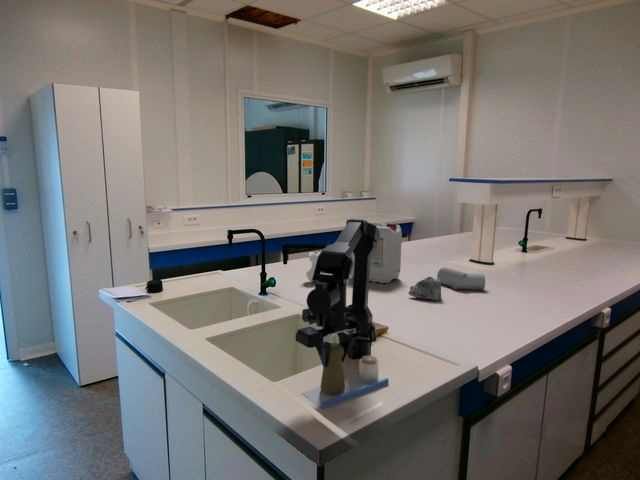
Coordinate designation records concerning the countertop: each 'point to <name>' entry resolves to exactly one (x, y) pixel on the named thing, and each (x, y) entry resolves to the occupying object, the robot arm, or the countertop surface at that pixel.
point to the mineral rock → (427, 289)
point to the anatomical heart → (313, 259)
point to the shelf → (351, 390)
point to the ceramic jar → (368, 369)
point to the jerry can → (385, 254)
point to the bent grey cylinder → (461, 279)
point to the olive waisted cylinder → (333, 371)
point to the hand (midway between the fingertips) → (333, 364)
